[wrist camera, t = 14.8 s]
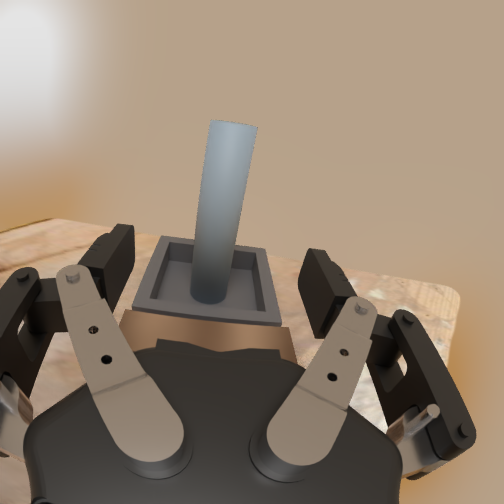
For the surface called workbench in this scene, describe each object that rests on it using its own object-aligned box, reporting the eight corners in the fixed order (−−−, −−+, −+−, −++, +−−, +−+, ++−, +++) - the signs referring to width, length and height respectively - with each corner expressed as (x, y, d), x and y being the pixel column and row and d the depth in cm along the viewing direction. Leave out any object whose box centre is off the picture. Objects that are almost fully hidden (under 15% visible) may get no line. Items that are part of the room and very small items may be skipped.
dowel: (188, 301, 25) (208, 121, 17) (191, 279, 28) (212, 119, 20) (226, 306, 26) (260, 129, 18) (226, 283, 29) (255, 125, 21)
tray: (135, 331, 21) (131, 305, 20) (160, 258, 31) (161, 235, 30) (273, 346, 23) (282, 322, 22) (259, 270, 33) (265, 248, 32)
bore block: (101, 482, 9) (78, 467, 8) (131, 344, 20) (125, 309, 18) (298, 496, 11) (324, 484, 9) (275, 359, 22) (288, 327, 20)
